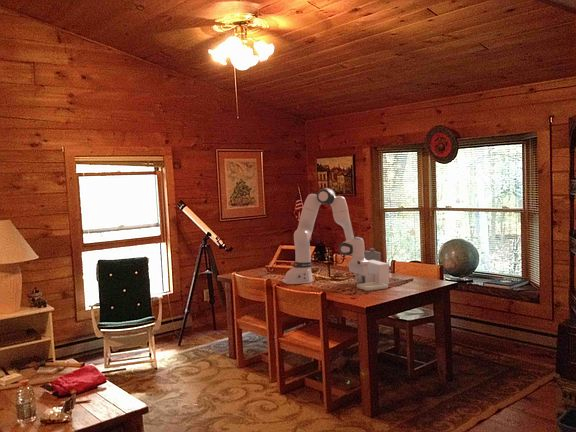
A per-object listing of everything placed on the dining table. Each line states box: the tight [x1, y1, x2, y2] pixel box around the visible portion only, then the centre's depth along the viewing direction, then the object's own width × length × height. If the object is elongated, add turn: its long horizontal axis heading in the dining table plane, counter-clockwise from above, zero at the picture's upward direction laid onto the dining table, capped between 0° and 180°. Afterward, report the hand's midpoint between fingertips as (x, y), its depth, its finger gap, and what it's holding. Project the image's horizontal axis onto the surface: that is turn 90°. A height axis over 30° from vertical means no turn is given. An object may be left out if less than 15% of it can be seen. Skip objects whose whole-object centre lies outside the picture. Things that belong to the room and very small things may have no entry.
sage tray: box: [356, 282, 389, 292], centre depth 365 cm, size 17×12×2 cm
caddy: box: [354, 274, 369, 284], centre depth 381 cm, size 11×5×6 cm, turn 114°
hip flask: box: [364, 247, 382, 262], centre depth 412 cm, size 16×4×20 cm, turn 43°
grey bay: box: [365, 260, 390, 285], centre depth 384 cm, size 15×20×14 cm
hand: (358, 280), depth 379 cm, fingers closed on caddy
